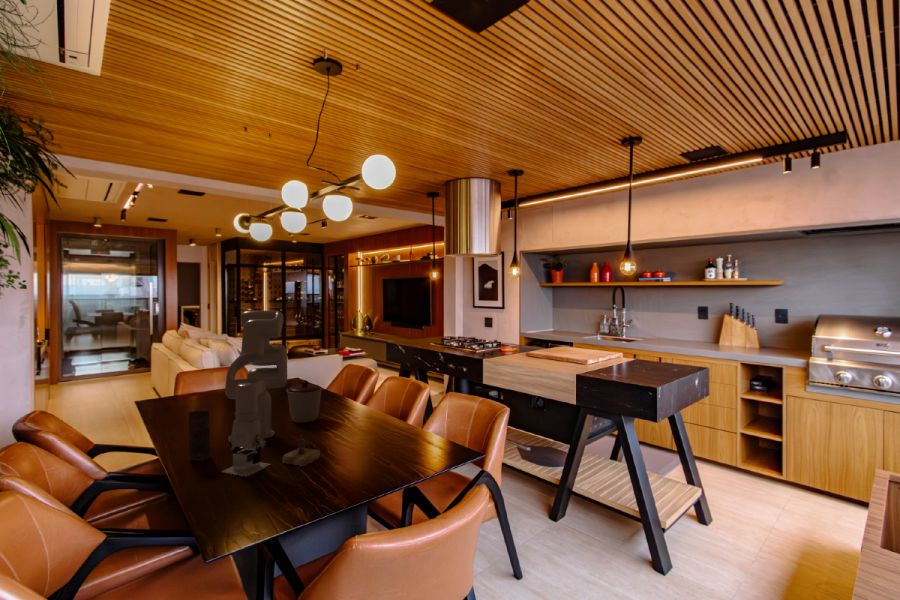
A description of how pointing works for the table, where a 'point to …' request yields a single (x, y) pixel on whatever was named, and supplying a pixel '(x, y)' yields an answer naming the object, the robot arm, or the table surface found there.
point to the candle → (199, 435)
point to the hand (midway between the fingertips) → (246, 461)
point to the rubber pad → (241, 473)
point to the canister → (304, 402)
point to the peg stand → (301, 455)
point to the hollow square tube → (244, 460)
